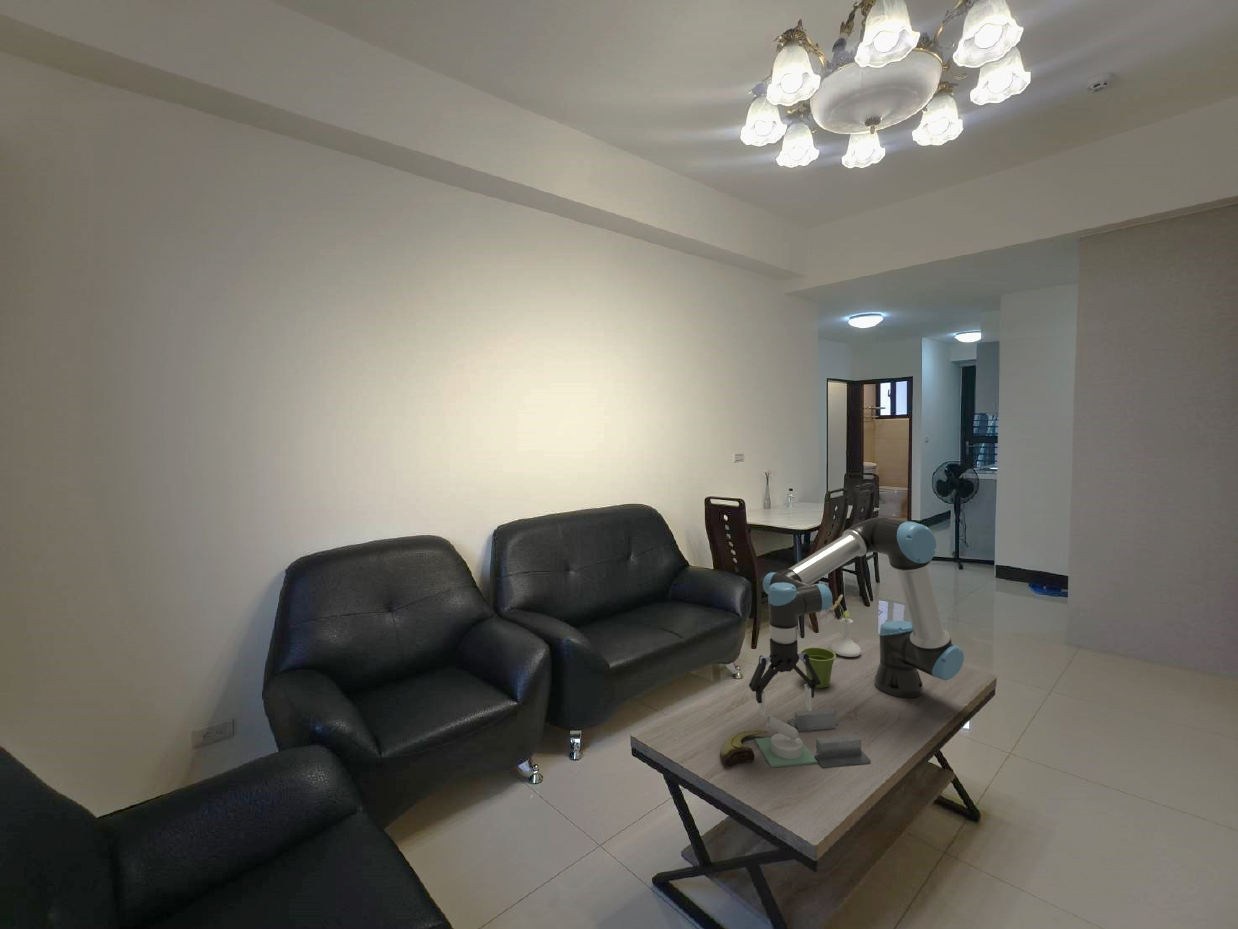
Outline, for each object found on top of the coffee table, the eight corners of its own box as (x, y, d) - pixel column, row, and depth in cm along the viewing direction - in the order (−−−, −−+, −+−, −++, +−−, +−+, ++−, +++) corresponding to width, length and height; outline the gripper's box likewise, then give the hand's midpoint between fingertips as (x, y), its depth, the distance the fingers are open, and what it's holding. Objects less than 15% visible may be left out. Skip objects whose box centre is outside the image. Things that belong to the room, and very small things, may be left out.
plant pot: (830, 676, 199) (830, 646, 198) (840, 692, 187) (840, 660, 187) (797, 676, 200) (797, 646, 199) (805, 691, 188) (805, 660, 188)
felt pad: (796, 736, 161) (796, 735, 161) (816, 763, 148) (816, 761, 148) (754, 740, 160) (754, 738, 160) (771, 767, 147) (771, 765, 147)
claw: (750, 773, 145) (749, 761, 144) (713, 765, 149) (712, 753, 149) (766, 735, 162) (765, 724, 162) (733, 729, 167) (732, 718, 167)
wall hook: (764, 708, 159) (800, 711, 157) (765, 739, 159) (800, 742, 157) (766, 724, 150) (804, 727, 148) (767, 757, 151) (804, 760, 149)
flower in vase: (842, 645, 226) (842, 587, 224) (867, 655, 216) (867, 594, 215) (822, 653, 219) (822, 593, 217) (847, 663, 209) (847, 600, 208)
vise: (830, 718, 171) (830, 703, 170) (870, 763, 148) (870, 745, 148) (787, 722, 169) (787, 707, 169) (822, 767, 147) (822, 750, 146)
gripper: (819, 629, 157) (821, 699, 159) (736, 637, 155) (738, 708, 156) (832, 639, 150) (833, 713, 151) (745, 647, 147) (747, 722, 149)
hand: (785, 710), depth 154 cm, fingers open, 13 cm apart
